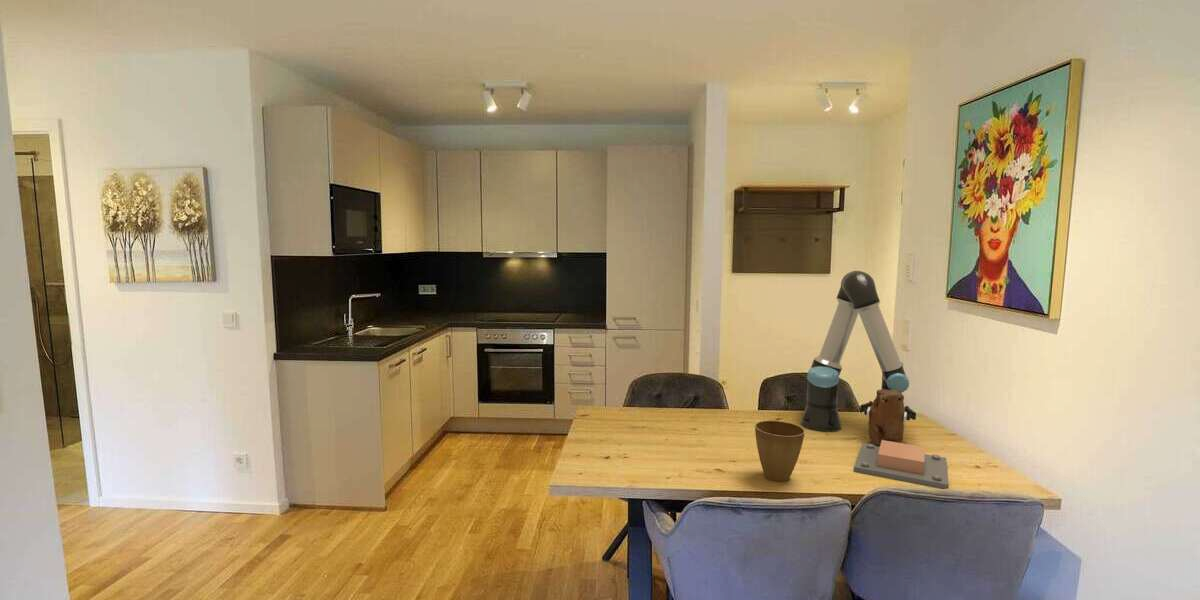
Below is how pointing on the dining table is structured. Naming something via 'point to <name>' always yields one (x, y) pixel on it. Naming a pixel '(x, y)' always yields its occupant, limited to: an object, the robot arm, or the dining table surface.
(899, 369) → the robot arm
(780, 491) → the dining table surface
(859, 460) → the tower base
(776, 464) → the plant pot
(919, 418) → the dining table surface
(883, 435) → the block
